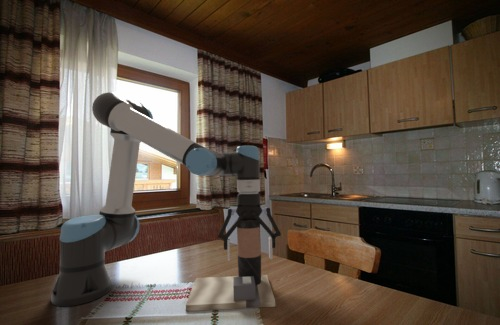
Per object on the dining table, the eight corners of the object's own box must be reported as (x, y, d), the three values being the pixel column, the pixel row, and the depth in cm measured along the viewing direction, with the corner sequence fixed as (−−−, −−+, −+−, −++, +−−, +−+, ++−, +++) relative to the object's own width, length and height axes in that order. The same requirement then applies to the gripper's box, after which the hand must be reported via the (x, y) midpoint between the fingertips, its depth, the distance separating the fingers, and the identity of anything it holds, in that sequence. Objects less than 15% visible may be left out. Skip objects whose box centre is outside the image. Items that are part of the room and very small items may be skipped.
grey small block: (233, 300, 68) (233, 284, 68) (233, 290, 74) (233, 276, 74) (255, 299, 69) (255, 283, 69) (253, 289, 75) (253, 275, 75)
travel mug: (262, 286, 77) (260, 220, 78) (237, 286, 77) (235, 221, 78) (261, 276, 84) (259, 216, 86) (238, 277, 84) (237, 217, 86)
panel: (185, 311, 66) (185, 305, 66) (196, 282, 84) (196, 277, 84) (275, 306, 68) (275, 300, 68) (266, 279, 86) (266, 274, 86)
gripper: (209, 194, 78) (209, 264, 76) (288, 192, 79) (290, 261, 78) (211, 193, 85) (212, 256, 84) (283, 191, 87) (285, 253, 85)
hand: (249, 259), depth 81 cm, fingers open, 13 cm apart
